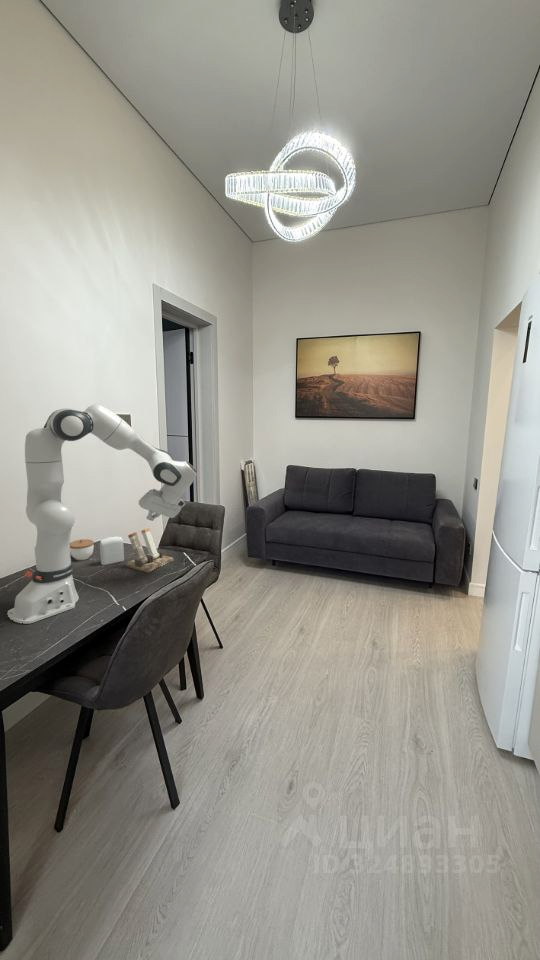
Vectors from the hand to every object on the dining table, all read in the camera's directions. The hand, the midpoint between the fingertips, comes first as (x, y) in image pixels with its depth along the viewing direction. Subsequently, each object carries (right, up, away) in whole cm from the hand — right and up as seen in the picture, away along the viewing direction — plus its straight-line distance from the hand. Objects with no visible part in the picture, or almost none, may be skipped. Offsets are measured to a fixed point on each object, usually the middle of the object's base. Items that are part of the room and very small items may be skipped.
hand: (149, 519), depth 164 cm
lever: (-2, -20, +15) cm, 25 cm away
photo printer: (-22, -22, +15) cm, 35 cm away
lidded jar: (-39, -21, +20) cm, 49 cm away
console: (-4, -22, +14) cm, 27 cm away
